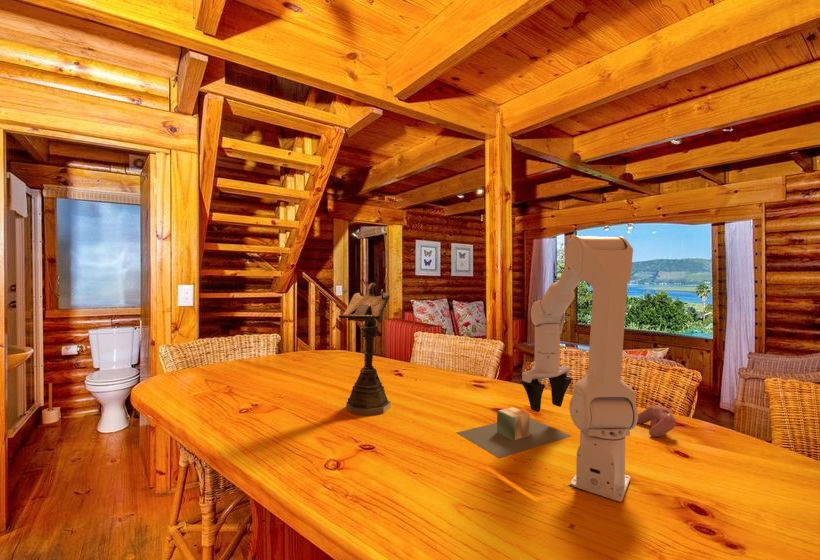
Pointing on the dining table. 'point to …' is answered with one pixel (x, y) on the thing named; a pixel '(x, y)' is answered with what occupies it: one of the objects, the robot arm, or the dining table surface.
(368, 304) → the book stand
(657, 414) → the video game controller
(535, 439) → the rubber mat
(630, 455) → the dining table surface
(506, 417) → the birch block
